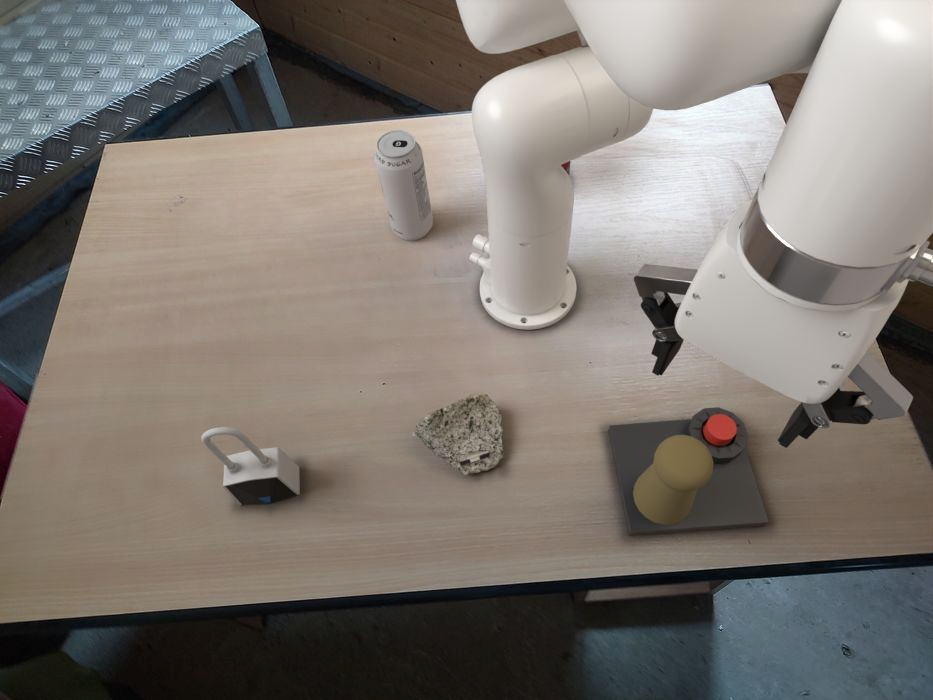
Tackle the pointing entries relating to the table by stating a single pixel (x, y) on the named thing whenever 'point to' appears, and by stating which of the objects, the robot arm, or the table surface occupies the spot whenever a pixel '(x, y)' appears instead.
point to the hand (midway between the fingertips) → (725, 394)
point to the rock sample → (465, 434)
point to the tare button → (719, 430)
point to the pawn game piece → (673, 479)
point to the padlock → (255, 471)
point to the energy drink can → (404, 184)
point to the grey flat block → (715, 504)
